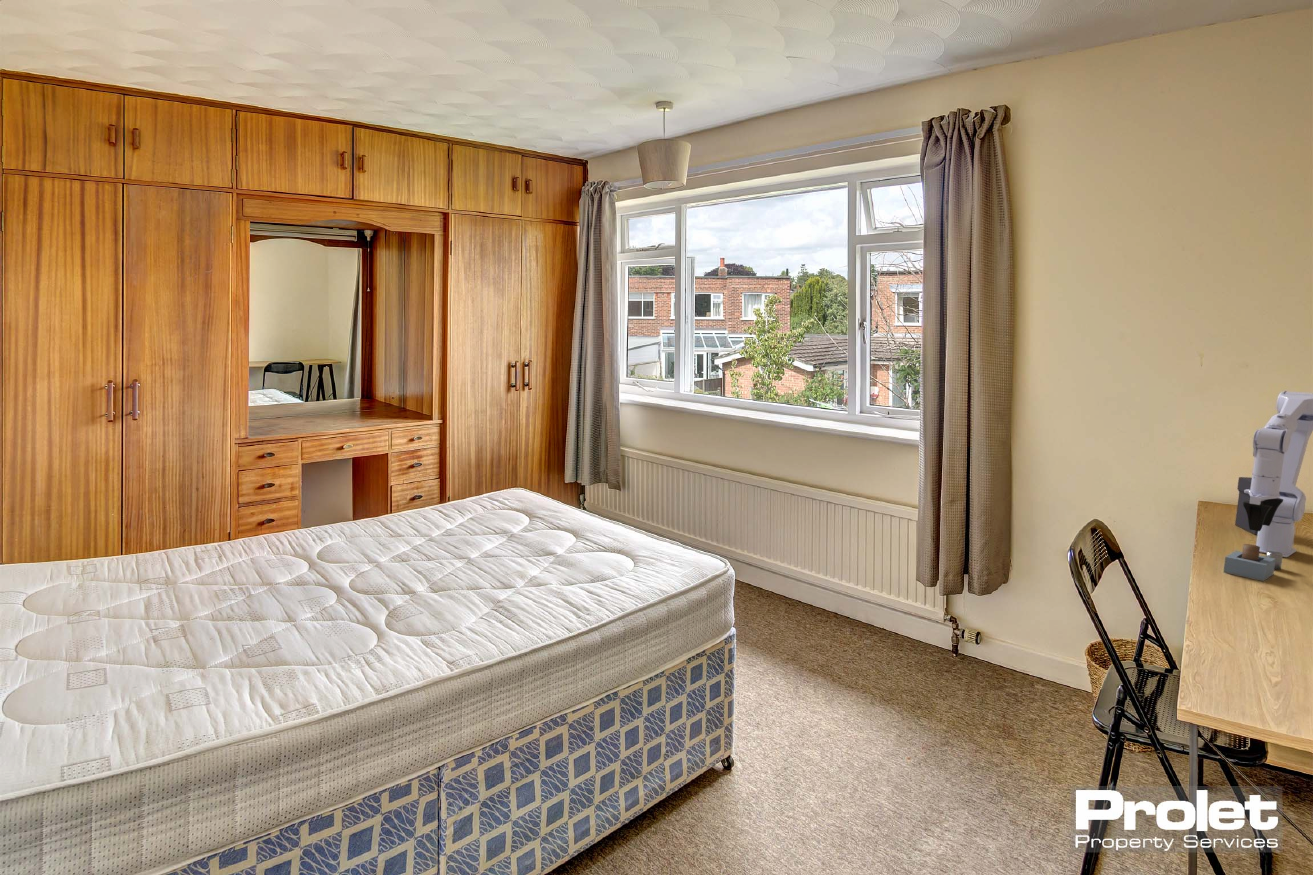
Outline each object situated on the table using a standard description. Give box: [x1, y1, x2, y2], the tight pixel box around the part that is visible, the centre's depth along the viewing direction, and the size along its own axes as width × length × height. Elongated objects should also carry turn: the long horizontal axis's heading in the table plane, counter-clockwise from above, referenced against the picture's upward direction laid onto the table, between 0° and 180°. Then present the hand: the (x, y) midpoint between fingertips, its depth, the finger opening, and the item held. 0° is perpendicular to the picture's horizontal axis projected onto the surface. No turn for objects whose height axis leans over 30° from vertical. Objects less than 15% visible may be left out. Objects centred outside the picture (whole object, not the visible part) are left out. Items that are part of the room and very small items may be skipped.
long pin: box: [1241, 543, 1260, 562], centre depth 185 cm, size 3×3×7 cm
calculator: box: [1234, 476, 1258, 536], centre depth 221 cm, size 11×4×15 cm, turn 168°
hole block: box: [1223, 550, 1275, 582], centre depth 185 cm, size 8×8×4 cm
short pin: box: [1265, 551, 1284, 571], centre depth 189 cm, size 3×3×4 cm
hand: (1259, 527), depth 192 cm, fingers open, 7 cm apart
